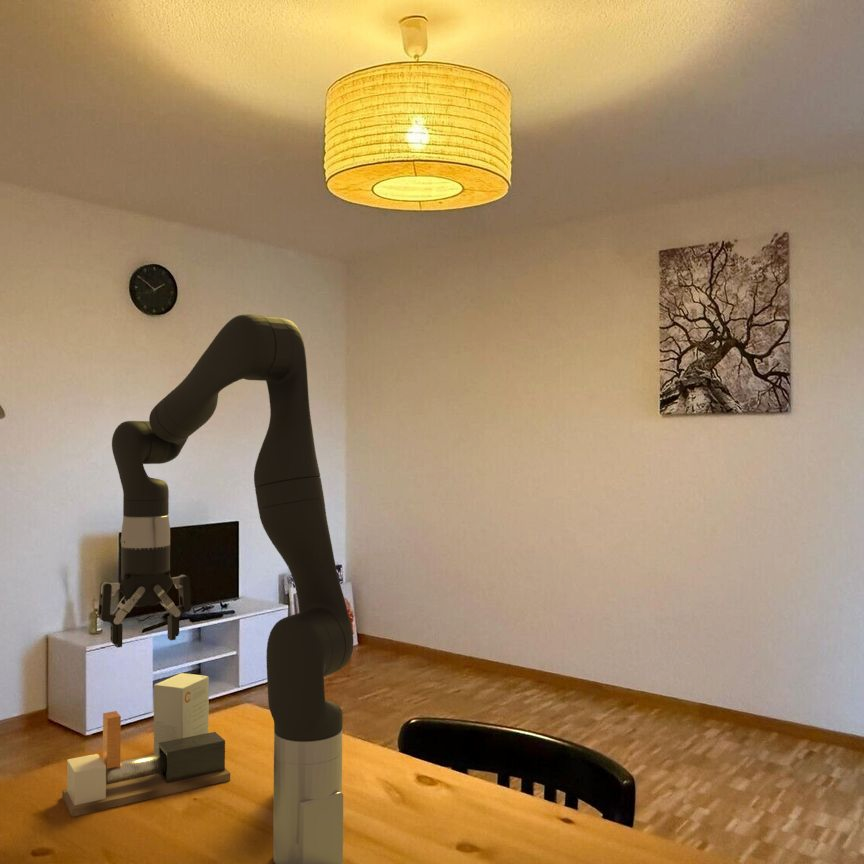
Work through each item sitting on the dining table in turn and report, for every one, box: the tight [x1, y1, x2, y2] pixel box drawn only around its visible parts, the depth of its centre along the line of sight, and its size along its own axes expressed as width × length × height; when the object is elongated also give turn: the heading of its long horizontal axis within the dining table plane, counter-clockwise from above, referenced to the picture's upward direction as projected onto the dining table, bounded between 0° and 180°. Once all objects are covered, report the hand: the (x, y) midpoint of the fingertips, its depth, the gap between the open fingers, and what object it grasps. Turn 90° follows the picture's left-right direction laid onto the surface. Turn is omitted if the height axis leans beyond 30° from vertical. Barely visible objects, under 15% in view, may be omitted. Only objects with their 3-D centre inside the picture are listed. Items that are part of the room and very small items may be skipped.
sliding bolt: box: [102, 710, 166, 785], centre depth 132 cm, size 14×3×11 cm, turn 124°
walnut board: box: [61, 767, 231, 818], centre depth 134 cm, size 24×8×1 cm, turn 124°
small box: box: [153, 672, 210, 755], centre depth 150 cm, size 8×6×13 cm
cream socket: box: [66, 753, 106, 806], centre depth 129 cm, size 4×6×5 cm
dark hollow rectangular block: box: [158, 731, 226, 783], centre depth 138 cm, size 10×5×5 cm, turn 124°
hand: (145, 642), depth 135 cm, fingers open, 8 cm apart
